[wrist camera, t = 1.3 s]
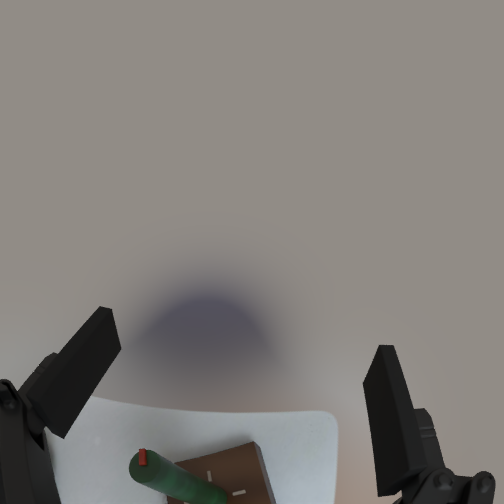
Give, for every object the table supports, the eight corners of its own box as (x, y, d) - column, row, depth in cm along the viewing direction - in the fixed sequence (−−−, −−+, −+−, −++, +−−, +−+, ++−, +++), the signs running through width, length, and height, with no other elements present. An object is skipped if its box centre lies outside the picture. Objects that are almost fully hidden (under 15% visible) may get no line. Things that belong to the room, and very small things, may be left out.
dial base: (286, 533, 19) (280, 533, 18) (183, 550, 19) (172, 548, 18) (259, 446, 30) (253, 440, 29) (172, 469, 30) (163, 464, 29)
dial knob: (229, 507, 22) (159, 479, 16) (202, 512, 22) (126, 483, 16) (224, 483, 25) (157, 444, 19) (198, 489, 25) (126, 451, 19)
